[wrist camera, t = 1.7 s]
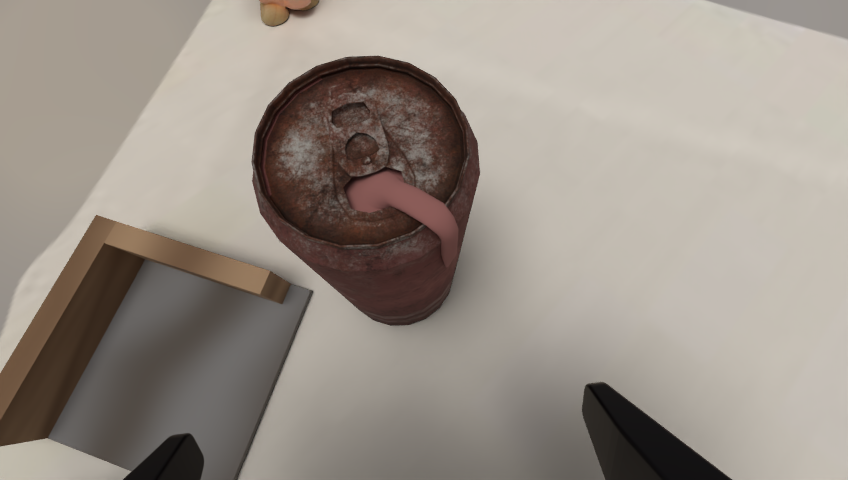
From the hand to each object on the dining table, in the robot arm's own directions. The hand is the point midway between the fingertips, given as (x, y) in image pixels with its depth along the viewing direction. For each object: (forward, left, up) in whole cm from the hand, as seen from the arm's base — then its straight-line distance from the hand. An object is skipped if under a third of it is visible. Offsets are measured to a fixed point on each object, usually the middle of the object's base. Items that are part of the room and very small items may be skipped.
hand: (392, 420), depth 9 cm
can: (+3, -6, -13) cm, 14 cm away
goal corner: (+13, +2, -13) cm, 18 cm away
